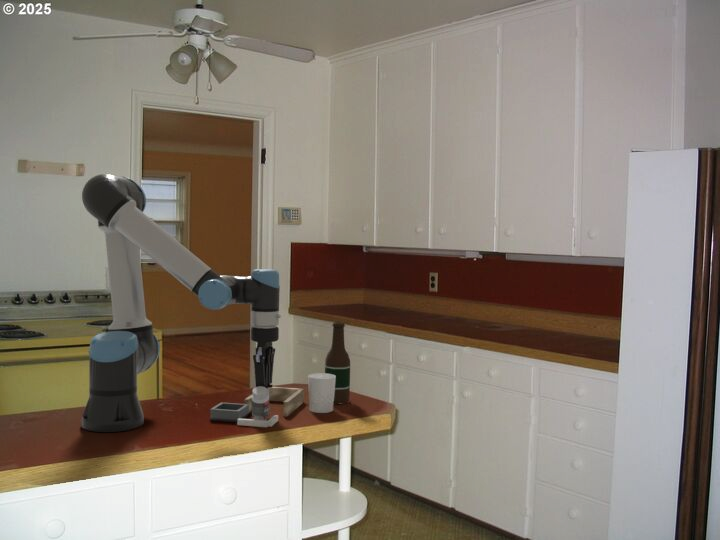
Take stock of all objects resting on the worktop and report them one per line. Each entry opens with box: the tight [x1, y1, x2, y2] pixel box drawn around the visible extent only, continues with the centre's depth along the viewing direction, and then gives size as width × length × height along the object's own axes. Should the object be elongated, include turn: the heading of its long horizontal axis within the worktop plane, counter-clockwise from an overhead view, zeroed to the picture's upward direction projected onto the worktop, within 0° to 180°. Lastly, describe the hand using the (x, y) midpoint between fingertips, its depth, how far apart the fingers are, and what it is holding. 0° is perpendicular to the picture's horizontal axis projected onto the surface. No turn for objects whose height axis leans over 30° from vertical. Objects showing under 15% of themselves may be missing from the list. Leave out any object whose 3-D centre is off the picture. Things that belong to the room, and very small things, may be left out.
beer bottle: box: [324, 321, 351, 405], centre depth 220 cm, size 8×8×24 cm
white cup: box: [307, 372, 336, 414], centre depth 208 cm, size 8×8×10 cm
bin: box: [209, 402, 250, 423], centre depth 198 cm, size 8×8×3 cm
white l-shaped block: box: [236, 414, 279, 428], centre depth 193 cm, size 9×7×2 cm
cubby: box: [244, 386, 305, 417], centre depth 210 cm, size 12×18×4 cm
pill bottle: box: [251, 386, 271, 421], centre depth 195 cm, size 5×5×8 cm
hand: (263, 411), depth 199 cm, fingers closed
